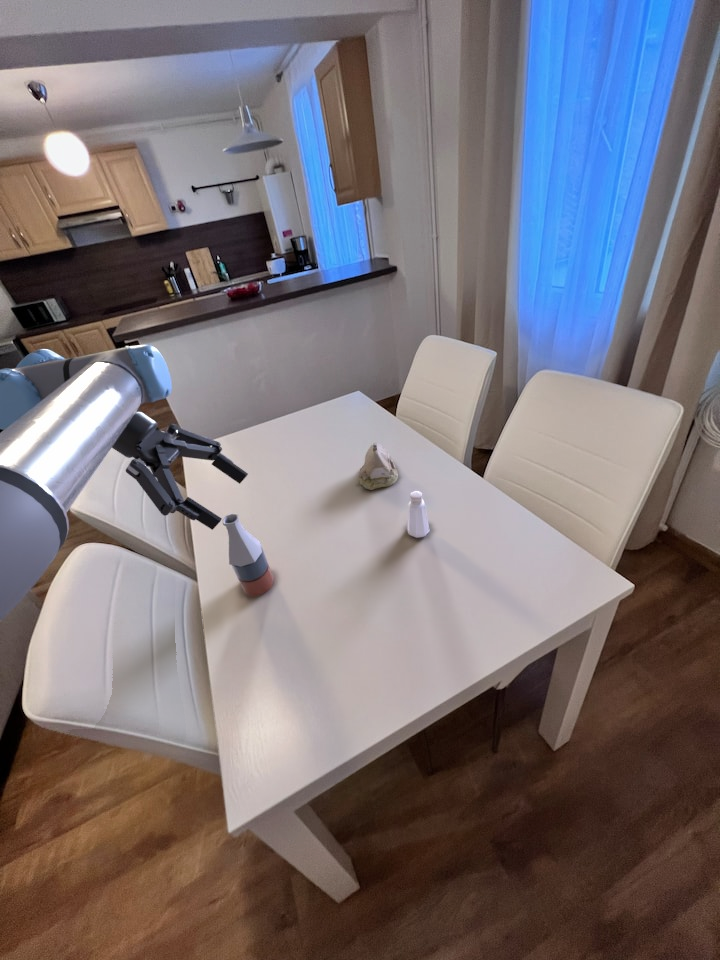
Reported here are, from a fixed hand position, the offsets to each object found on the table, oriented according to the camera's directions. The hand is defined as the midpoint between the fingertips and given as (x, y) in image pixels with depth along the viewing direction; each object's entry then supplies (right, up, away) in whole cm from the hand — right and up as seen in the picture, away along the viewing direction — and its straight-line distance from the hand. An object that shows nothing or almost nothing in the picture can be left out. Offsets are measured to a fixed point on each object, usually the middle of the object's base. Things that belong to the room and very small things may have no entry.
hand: (231, 500), depth 74 cm
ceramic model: (+29, +5, +44) cm, 53 cm away
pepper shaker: (+38, -9, +23) cm, 45 cm away
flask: (0, -12, +11) cm, 16 cm away
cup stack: (+1, -19, +16) cm, 25 cm away
